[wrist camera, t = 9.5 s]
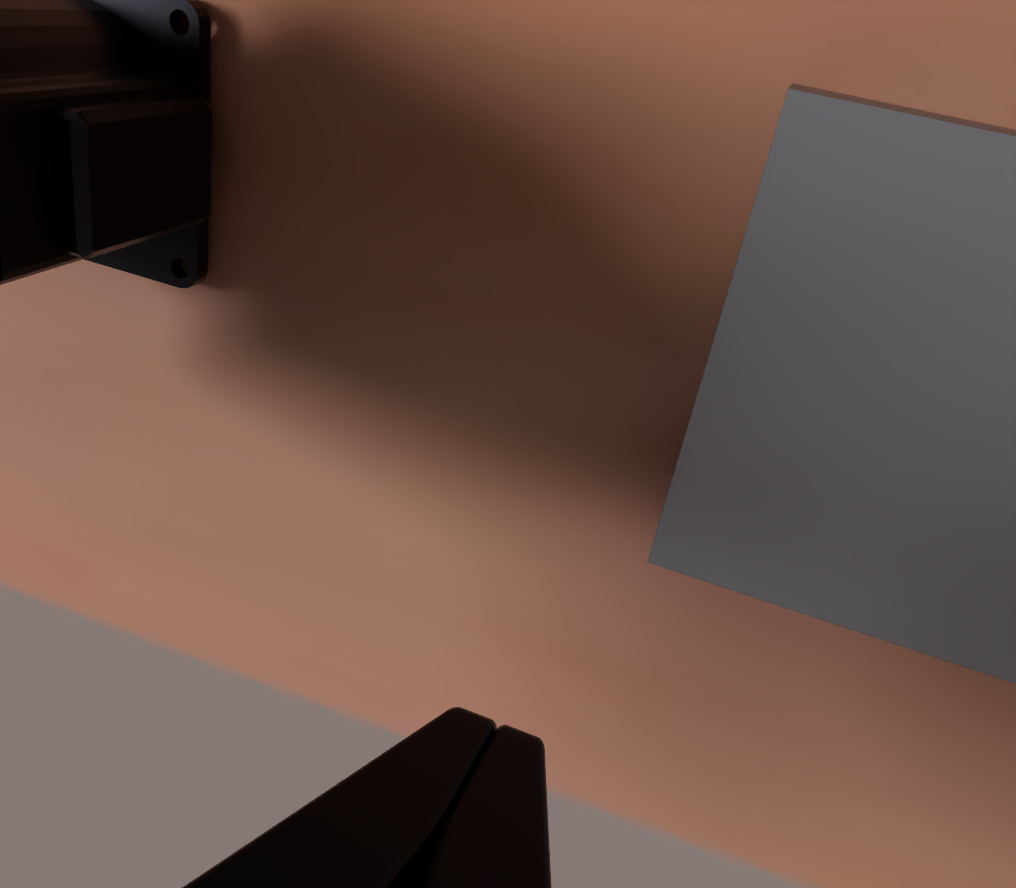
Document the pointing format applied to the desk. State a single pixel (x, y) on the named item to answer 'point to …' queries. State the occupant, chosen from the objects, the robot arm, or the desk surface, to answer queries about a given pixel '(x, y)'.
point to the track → (865, 386)
